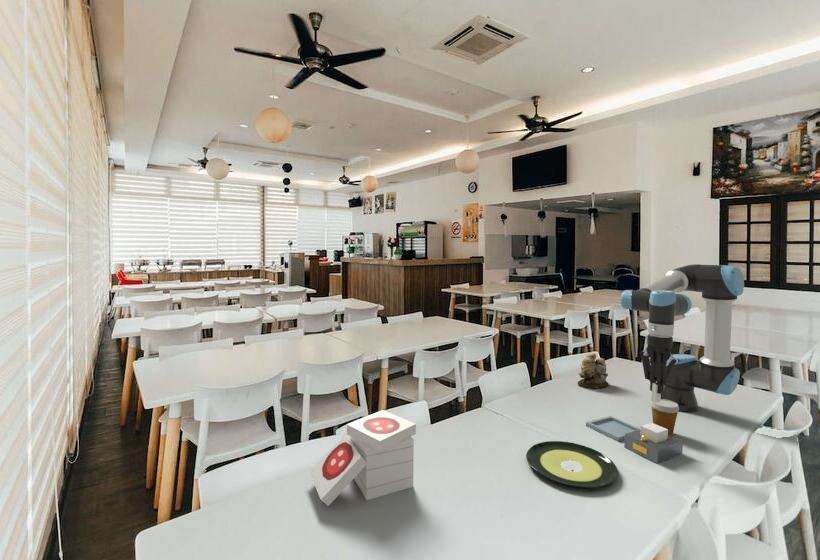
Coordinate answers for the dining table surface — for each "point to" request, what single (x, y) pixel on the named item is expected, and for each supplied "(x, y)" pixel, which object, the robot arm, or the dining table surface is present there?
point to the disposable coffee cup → (665, 414)
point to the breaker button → (654, 432)
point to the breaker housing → (653, 446)
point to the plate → (552, 453)
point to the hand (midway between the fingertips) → (655, 401)
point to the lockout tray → (612, 427)
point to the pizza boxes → (368, 458)
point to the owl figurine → (593, 372)
